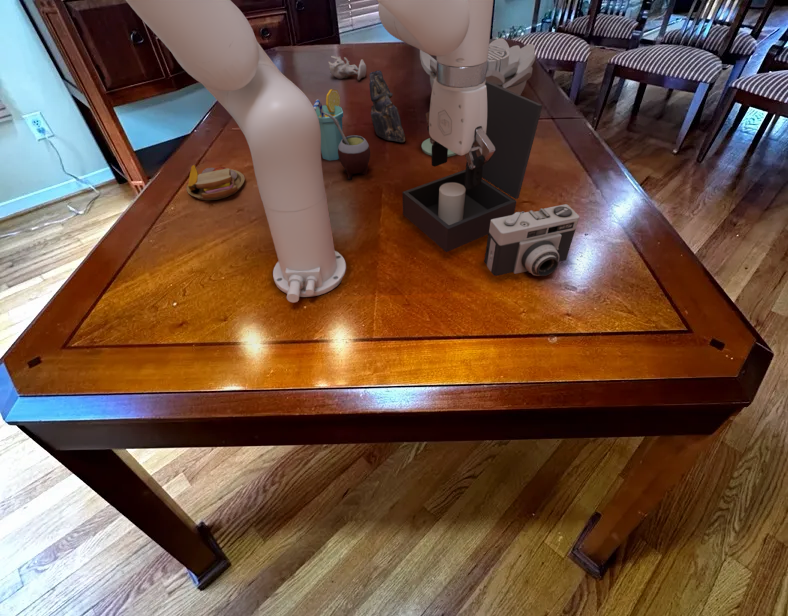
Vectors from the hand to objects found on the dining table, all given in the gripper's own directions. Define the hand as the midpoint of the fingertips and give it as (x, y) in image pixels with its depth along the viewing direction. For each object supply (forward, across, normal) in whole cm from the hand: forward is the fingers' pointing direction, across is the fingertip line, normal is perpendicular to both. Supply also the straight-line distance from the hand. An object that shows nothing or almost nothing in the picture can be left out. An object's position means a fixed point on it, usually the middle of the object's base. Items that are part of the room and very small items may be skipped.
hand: (455, 174), depth 80 cm
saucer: (+11, -28, +17) cm, 34 cm away
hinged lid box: (+10, 0, +1) cm, 11 cm away
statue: (+11, -40, +10) cm, 43 cm away
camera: (+11, +18, +3) cm, 22 cm away
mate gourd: (+11, -28, -7) cm, 31 cm away
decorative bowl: (+11, -40, +39) cm, 57 cm away
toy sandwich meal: (+10, -40, -35) cm, 54 cm away
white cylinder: (+10, 0, -1) cm, 10 cm away
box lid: (-4, 0, +9) cm, 10 cm away
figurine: (+11, -85, +22) cm, 89 cm away
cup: (+10, -39, -7) cm, 41 cm away
